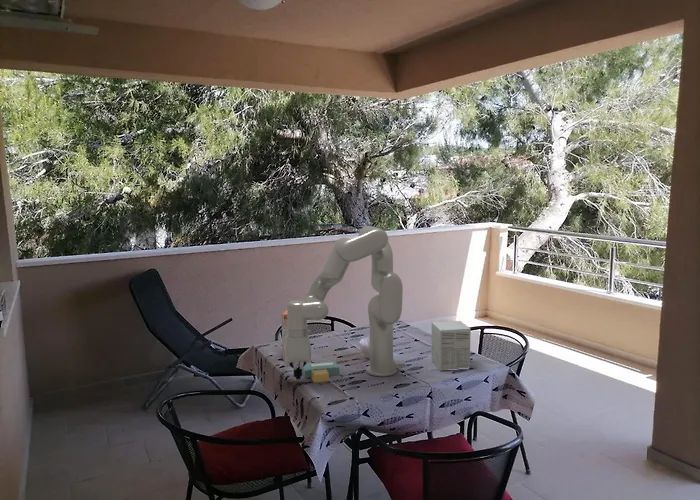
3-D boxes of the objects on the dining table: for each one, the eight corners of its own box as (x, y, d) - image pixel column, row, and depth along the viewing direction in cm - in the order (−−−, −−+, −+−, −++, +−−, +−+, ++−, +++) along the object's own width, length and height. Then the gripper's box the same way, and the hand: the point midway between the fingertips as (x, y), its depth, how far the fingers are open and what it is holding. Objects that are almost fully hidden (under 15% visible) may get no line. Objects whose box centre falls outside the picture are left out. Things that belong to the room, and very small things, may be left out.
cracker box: (295, 361, 235) (293, 314, 232) (281, 360, 236) (280, 313, 234) (304, 351, 249) (303, 306, 246) (291, 350, 250) (290, 306, 247)
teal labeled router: (335, 368, 226) (334, 360, 225) (339, 374, 218) (339, 367, 218) (301, 371, 222) (301, 364, 222) (305, 378, 215) (304, 370, 214)
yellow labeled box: (326, 376, 216) (326, 369, 216) (328, 381, 211) (328, 373, 211) (311, 378, 215) (311, 370, 214) (313, 382, 210) (313, 375, 209)
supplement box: (470, 370, 222) (471, 328, 220) (439, 371, 220) (439, 330, 218) (460, 359, 235) (460, 320, 233) (430, 361, 233) (431, 321, 231)
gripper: (314, 328, 214) (315, 373, 216) (276, 331, 210) (277, 376, 212) (318, 333, 206) (318, 380, 209) (279, 336, 203) (279, 383, 205)
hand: (297, 378), depth 210 cm, fingers closed
